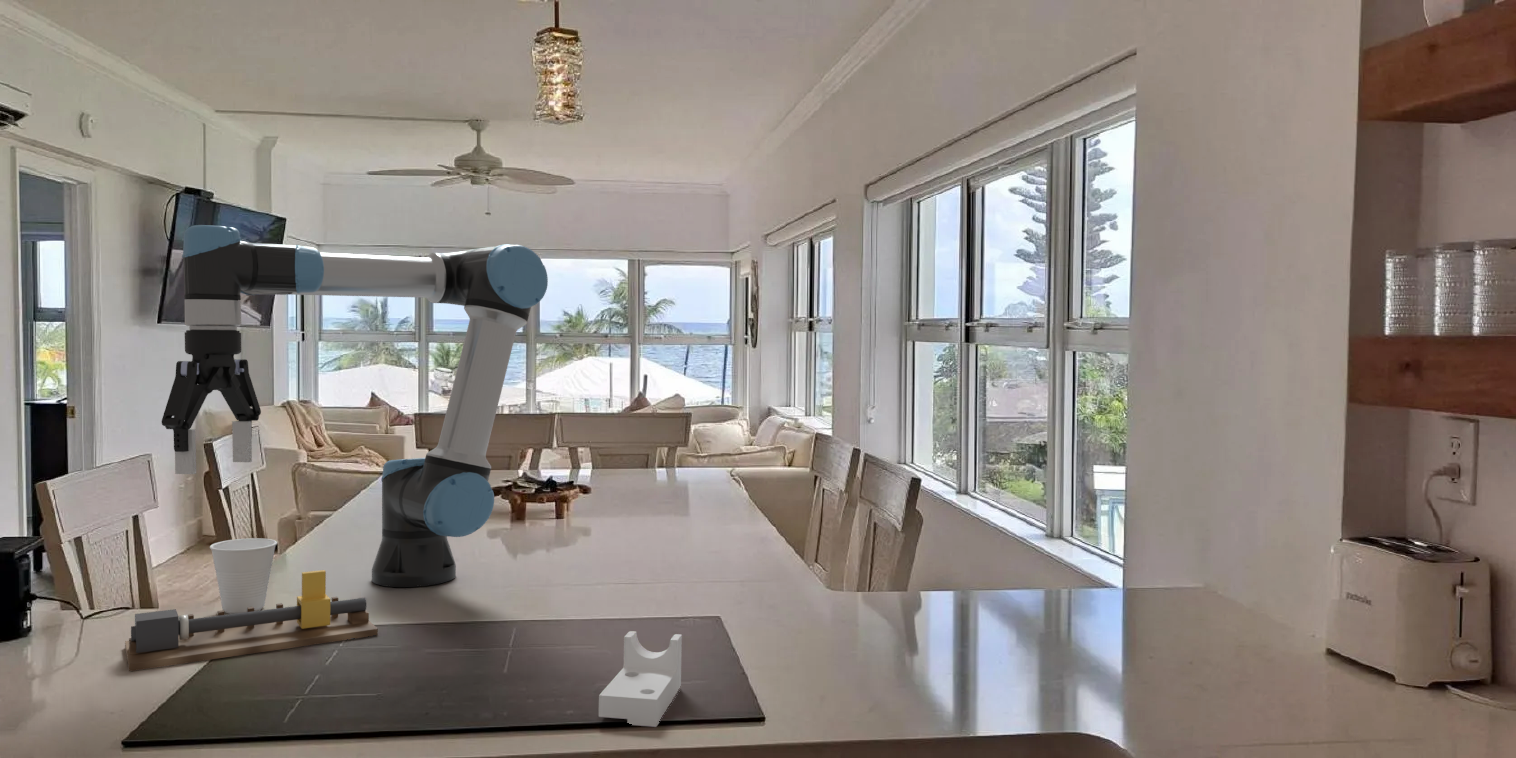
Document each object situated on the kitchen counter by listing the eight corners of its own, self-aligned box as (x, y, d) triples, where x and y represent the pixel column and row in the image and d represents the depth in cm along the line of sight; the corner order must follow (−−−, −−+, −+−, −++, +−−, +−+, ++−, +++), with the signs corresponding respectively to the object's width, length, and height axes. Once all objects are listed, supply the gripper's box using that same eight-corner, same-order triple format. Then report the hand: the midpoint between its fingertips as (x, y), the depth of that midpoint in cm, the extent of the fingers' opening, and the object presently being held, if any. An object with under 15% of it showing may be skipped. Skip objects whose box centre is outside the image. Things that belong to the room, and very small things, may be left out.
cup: (248, 619, 156) (248, 551, 155) (194, 615, 158) (195, 547, 157) (290, 604, 165) (290, 540, 165) (239, 600, 167) (239, 536, 167)
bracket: (628, 687, 129) (629, 631, 129) (680, 691, 128) (681, 634, 128) (598, 724, 116) (599, 661, 116) (656, 729, 115) (657, 666, 115)
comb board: (358, 616, 159) (359, 592, 159) (377, 635, 149) (377, 609, 149) (125, 647, 140) (125, 620, 140) (129, 671, 130) (129, 641, 130)
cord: (363, 608, 154) (363, 596, 154) (366, 611, 153) (366, 599, 152) (130, 639, 136) (130, 624, 136) (131, 642, 135) (131, 628, 135)
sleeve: (324, 618, 152) (325, 567, 152) (330, 624, 149) (330, 572, 148) (296, 622, 150) (297, 570, 149) (301, 628, 146) (302, 575, 146)
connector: (186, 637, 141) (186, 607, 141) (189, 645, 138) (189, 615, 138) (134, 644, 138) (134, 613, 138) (136, 653, 134) (136, 621, 134)
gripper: (239, 329, 160) (241, 457, 161) (130, 327, 136) (133, 478, 137) (283, 329, 160) (284, 458, 161) (181, 327, 135) (184, 479, 136)
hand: (215, 467), depth 149 cm, fingers open, 13 cm apart
